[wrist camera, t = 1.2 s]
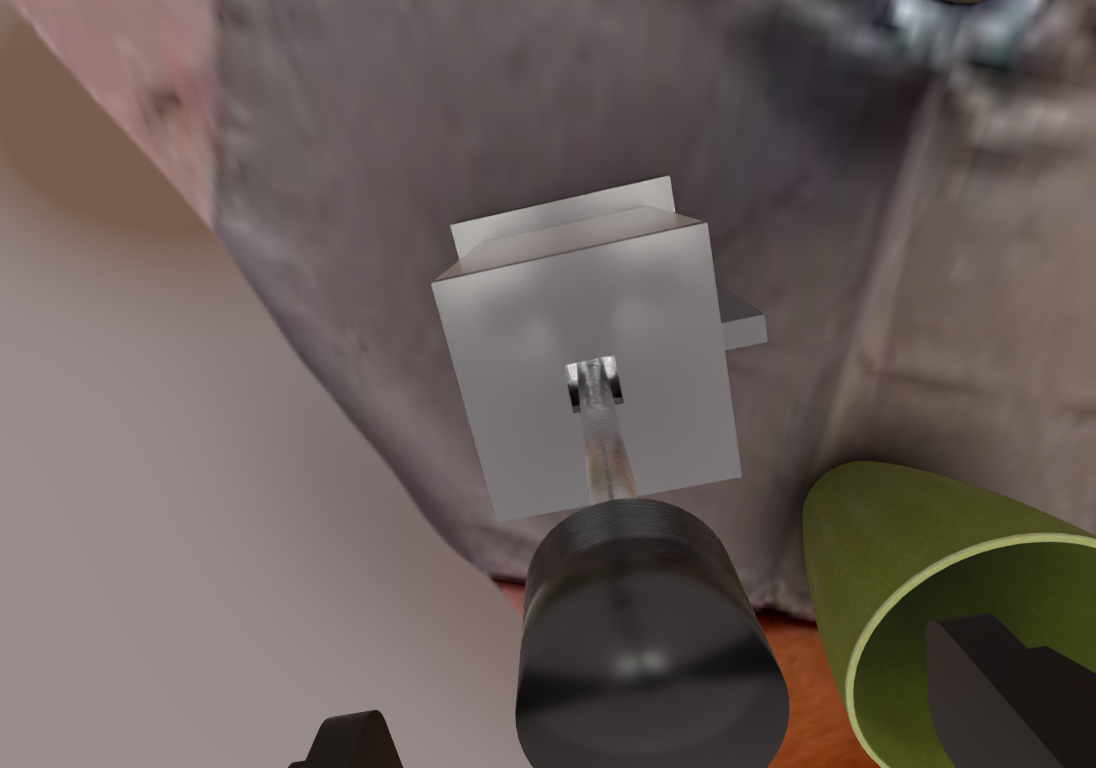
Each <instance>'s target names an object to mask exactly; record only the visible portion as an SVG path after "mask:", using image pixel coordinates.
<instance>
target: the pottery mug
mask: <svg viewBox="0 0 1096 768" xmlns="http://www.w3.org/2000/svg"><path fill="white" fill-rule="evenodd" d="M945 1H950V2H954V3H957V4H960V3H968V4H973V3H980V2H983V1H986V0H945Z"/></svg>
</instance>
